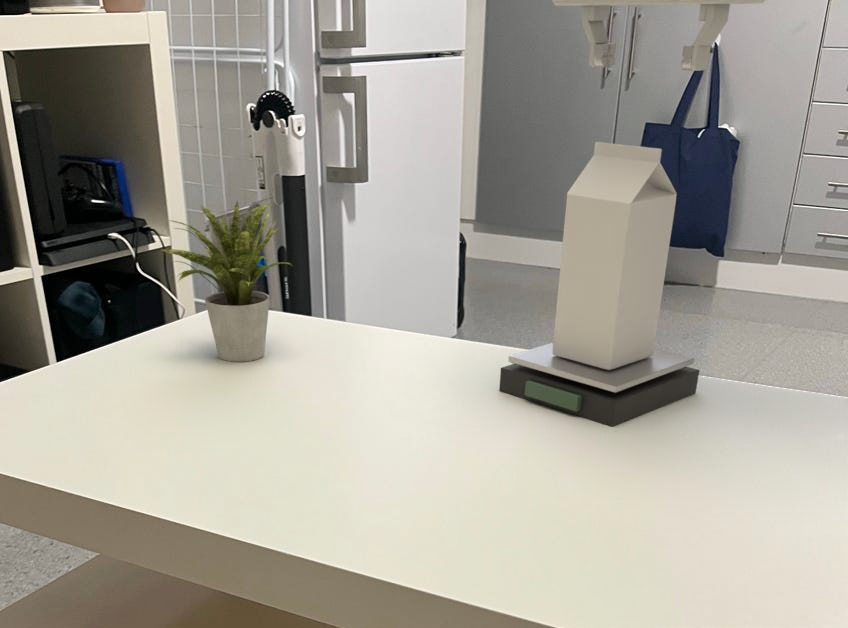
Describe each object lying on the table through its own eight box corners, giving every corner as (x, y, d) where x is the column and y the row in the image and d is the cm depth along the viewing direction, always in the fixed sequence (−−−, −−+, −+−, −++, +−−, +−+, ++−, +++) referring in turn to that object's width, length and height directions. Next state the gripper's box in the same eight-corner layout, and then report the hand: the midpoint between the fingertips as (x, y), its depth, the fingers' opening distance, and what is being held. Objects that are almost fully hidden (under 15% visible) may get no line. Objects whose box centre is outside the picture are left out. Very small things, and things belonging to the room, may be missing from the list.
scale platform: (587, 336, 109) (588, 331, 108) (693, 363, 101) (694, 357, 100) (508, 361, 101) (508, 355, 101) (615, 393, 93) (616, 386, 93)
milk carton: (609, 372, 96) (637, 152, 86) (551, 356, 101) (571, 145, 91) (653, 357, 100) (684, 145, 90) (595, 342, 105) (619, 139, 95)
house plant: (215, 329, 123) (203, 182, 114) (321, 339, 119) (317, 188, 110) (156, 363, 111) (137, 203, 102) (271, 376, 107) (262, 210, 98)
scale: (584, 362, 111) (586, 340, 110) (695, 393, 102) (699, 369, 101) (495, 392, 103) (496, 368, 101) (608, 428, 94) (611, 403, 93)
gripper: (814, -144, 75) (776, 70, 82) (590, -120, 88) (575, 63, 95) (770, -150, 71) (735, 74, 79) (543, -124, 84) (531, 66, 92)
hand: (645, 68), depth 87 cm, fingers open, 8 cm apart
